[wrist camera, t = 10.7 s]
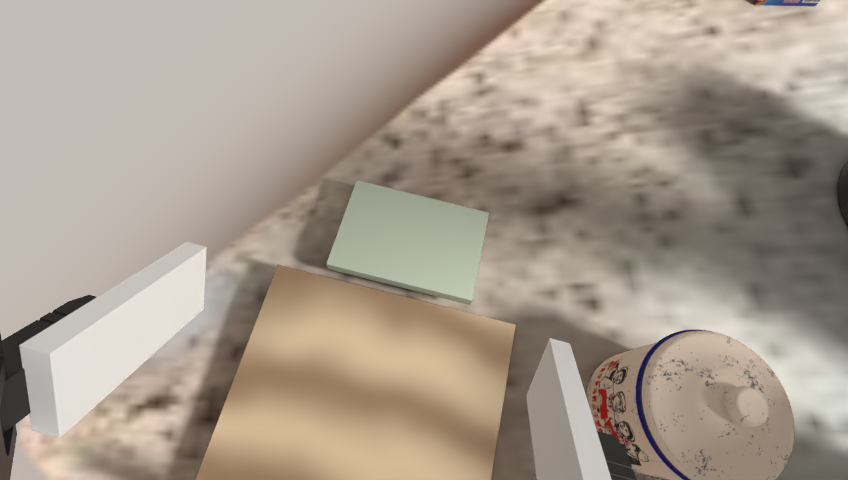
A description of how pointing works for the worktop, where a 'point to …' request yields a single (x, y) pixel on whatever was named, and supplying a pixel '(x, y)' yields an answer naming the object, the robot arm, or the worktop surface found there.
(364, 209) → the panel
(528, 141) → the worktop surface
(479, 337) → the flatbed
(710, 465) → the teacup with lid
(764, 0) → the juice carton
